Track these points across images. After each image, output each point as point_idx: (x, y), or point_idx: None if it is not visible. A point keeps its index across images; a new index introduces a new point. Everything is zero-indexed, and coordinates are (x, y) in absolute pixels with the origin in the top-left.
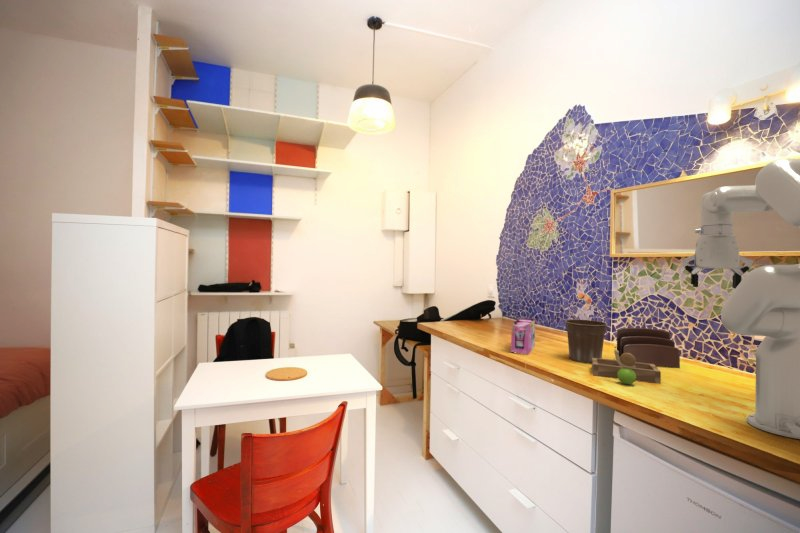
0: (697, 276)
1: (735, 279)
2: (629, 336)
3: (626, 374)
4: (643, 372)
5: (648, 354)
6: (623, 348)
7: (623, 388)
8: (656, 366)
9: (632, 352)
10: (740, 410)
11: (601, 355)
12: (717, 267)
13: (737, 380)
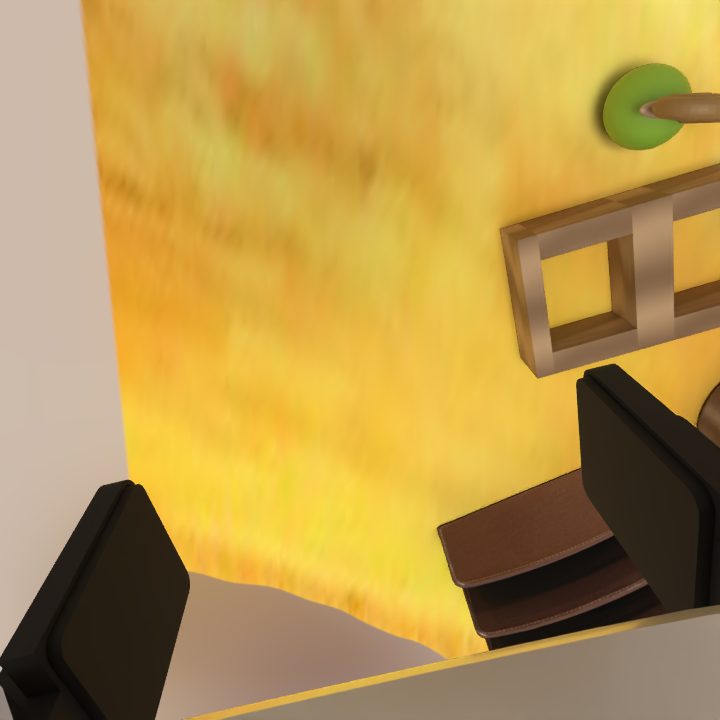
0: (692, 466)
1: (96, 593)
2: None
3: (658, 66)
4: (577, 219)
5: (551, 518)
6: None
7: (641, 10)
8: (508, 498)
9: None
10: (238, 19)
11: (717, 428)
12: (383, 680)
13: (273, 490)
